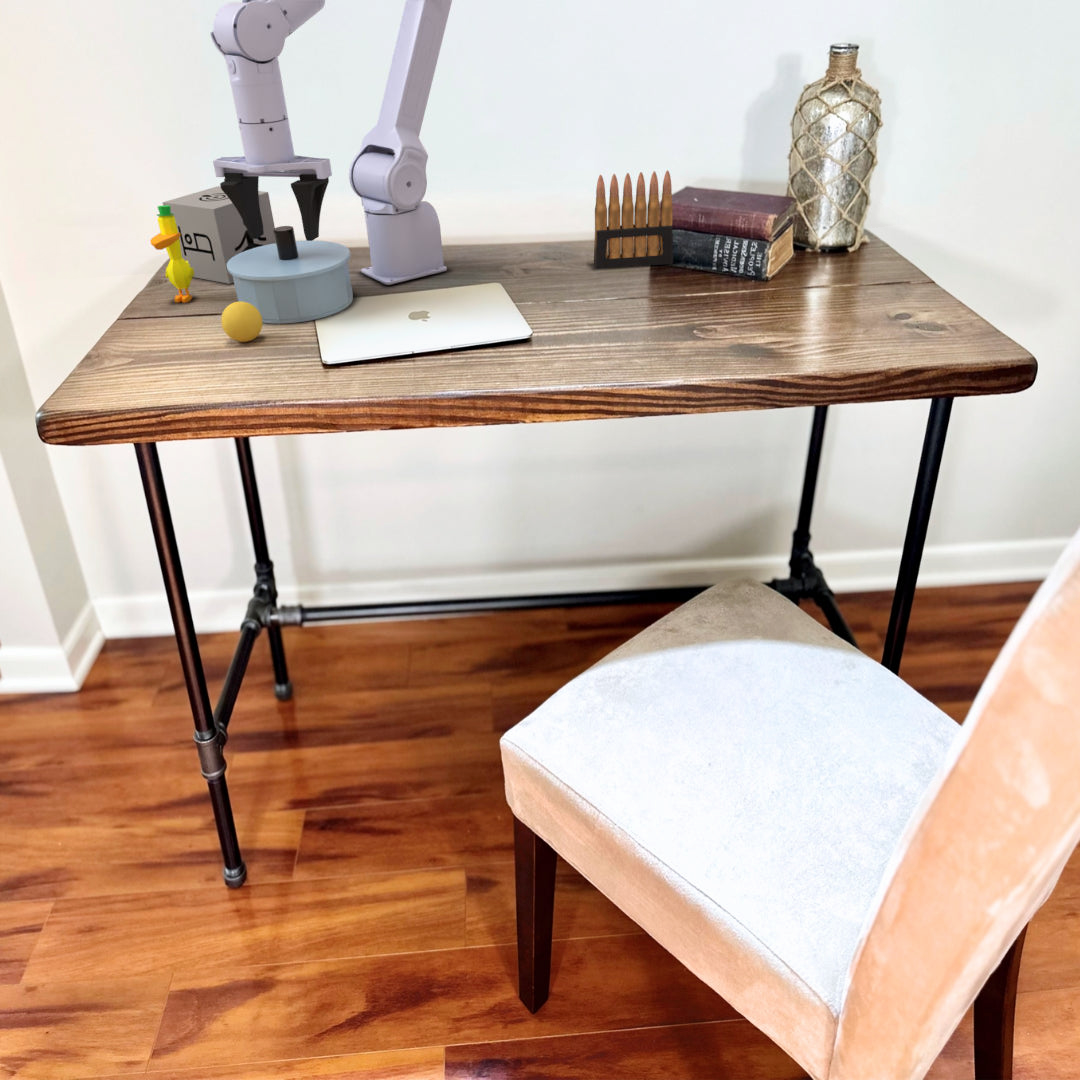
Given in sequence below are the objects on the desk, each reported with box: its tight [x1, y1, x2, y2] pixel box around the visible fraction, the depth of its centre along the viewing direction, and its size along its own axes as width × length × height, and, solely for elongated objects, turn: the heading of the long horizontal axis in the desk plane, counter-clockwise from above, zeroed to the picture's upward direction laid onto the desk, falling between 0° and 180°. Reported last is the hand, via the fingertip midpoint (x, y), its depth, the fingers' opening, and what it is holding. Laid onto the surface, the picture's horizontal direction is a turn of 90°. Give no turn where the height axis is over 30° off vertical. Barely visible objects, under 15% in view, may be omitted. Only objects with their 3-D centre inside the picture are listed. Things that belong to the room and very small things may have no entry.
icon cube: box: [162, 185, 276, 285], centre depth 136 cm, size 10×10×10 cm
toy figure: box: [150, 205, 194, 304], centre depth 125 cm, size 7×4×12 cm, turn 170°
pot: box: [233, 260, 354, 324], centre depth 123 cm, size 14×14×6 cm
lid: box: [227, 225, 351, 281], centre depth 121 cm, size 15×15×5 cm
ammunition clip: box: [593, 169, 674, 270], centre depth 129 cm, size 11×2×12 cm, turn 95°
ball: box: [220, 301, 263, 343], centre depth 113 cm, size 5×5×5 cm
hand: (284, 237), depth 120 cm, fingers open, 7 cm apart
